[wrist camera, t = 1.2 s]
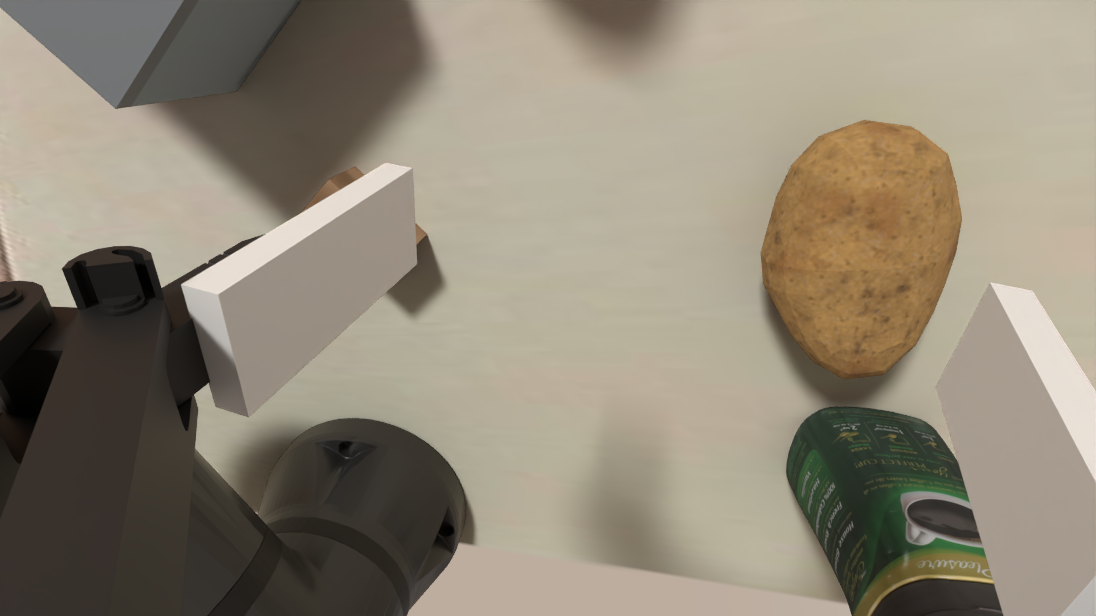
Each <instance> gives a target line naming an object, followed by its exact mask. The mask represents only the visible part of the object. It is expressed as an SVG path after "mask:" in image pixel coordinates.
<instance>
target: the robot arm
mask: <svg viewBox="0 0 1096 616" xmlns="http://www.w3.org/2000/svg"><path fill="white" fill-rule="evenodd" d="M416 265H417V248H416V227H415V206H414V185H413V168H410V167H404V166H399V165H394V164H389V163H384V164H383V165H381V166H379V167H378V168H376V169H374V170H373V171H371V172H369V173H368V174H366V175H364V176H363V177H361V178H359V179H358V180H356V181H354V182H353V183H351V184H349V185H347V186H346V187H344V188H342V189H341V190H339V191H337V192H336V193H334V194H332V195H331V196H329V197H327V198H326V199H324V200H322V201H321V202H319V203H317V204H315V205H314V206H312V207H310V208H309V209H307V210H305V211H304V212H302V213H300V214H299V215H297V216H295V217H294V218H292V219H290V220H289V221H287V222H285V223H284V224H282V225H280V226H278V227H277V228H275V229H273V230H272V231H270V232H268V233H267V234H264V235H261V236H257V237H254V238H251V239H248V240H245V241H242V242H240V243H238V244H237V245H235V246H233V247H232V248H230V249H228V250H226V251H225V252H224V254H223V255H221V254H220V255H218V256H216V257H214V258H213V259H211V260H209V263H208V264H206V263H204V264H202V265H201V266H199V267H197V268H196V269H194V270H192V271H190V272H189V273H187V274H185V275H184V276H182V277H180V278H178V279H177V280H175V281H173V282H171V283H170V284H168V285H166V286H165V287H163V288H161V285H160V282H159V278H158V275H157V272H156V269H155V265H154V262H153V259H152V255H151V253H150V252H148V251H147V250H145V249H143V248H138V247H133V246H113V247H108V248H102V249H96V250H93V251H90V252H87V253H84V254H81V255H79V256H77V257H76V258H74V259H72V260H70V261H68V263H67V264H66V265H65V266H64V267H63V268H62V270H63V273H64V275H65V278H66V280H67V283H68V285H69V288H70V290H71V293H72V295H73V298H74V300H75V303H76V306H77V308H71V307H51V305H50V303H49V301H48V298H47V296H46V294H45V291H44V289H43V287H42V286H41V285H39V284H37V283H34V282H27V281H12V282H7V281H3V282H0V616H407V614H408V611H409V610H410V609H411V607H412V606H413V605H414V604H415V603H416V602H417V600H418V599H419V598H420V597H421V596H422V595H423V593H424V592H425V591H426V590H427V589H428V588H429V586H430V585H431V584H432V583H433V582H434V581H435V579H436V578H437V577H438V576H439V575H440V574H441V573H442V571H443V570H444V569H445V568H446V567H447V565H448V564H449V562H450V561H451V559H452V557H453V555H454V553H455V551H456V549H457V546H458V543H459V540H460V537H461V534H462V531H463V528H464V524H465V517H466V507H465V499H464V495H463V491H462V488H461V486H460V483H459V481H458V479H457V477H456V475H455V474H454V472H453V471H452V469H451V468H450V466H449V465H448V464H447V462H446V461H445V460H444V459H443V458H442V457H441V456H440V455H439V454H438V453H437V452H436V451H435V450H434V449H433V448H432V447H431V446H429V445H428V444H427V443H425V442H424V441H423V440H421V439H420V438H418V437H416V436H415V435H413V434H411V433H409V432H407V431H405V430H403V429H401V428H399V427H396V426H393V425H390V424H387V423H384V422H380V421H375V420H369V419H359V418H346V419H337V420H332V421H328V422H324V423H321V424H319V425H316V426H314V427H312V428H310V429H308V430H307V431H305V432H304V433H302V434H301V435H300V436H298V437H297V438H296V439H295V440H294V441H293V442H292V443H291V445H290V446H289V447H288V448H287V450H286V451H285V452H284V453H283V455H282V456H281V457H280V458H279V460H278V461H277V462H276V464H275V465H274V467H273V469H272V471H271V473H270V475H269V478H268V480H267V483H266V487H265V490H264V494H263V497H262V501H261V505H260V508H259V512H258V515H257V514H256V513H255V512H254V511H253V510H252V509H251V508H250V507H249V506H248V504H247V503H246V502H245V501H244V500H243V499H242V498H241V497H240V496H239V495H238V494H237V493H236V492H235V491H234V490H233V489H232V487H231V486H230V485H229V484H228V483H227V482H226V481H225V480H224V479H223V478H222V477H221V476H220V475H219V474H218V473H217V472H216V470H215V469H214V468H213V467H212V466H211V465H210V464H209V463H208V462H207V461H206V460H205V459H204V458H203V457H202V456H201V455H200V453H199V452H198V451H197V450H196V449H195V441H196V428H197V416H198V407H197V403H196V400H195V397H194V394H195V393H196V392H198V391H199V390H200V389H201V388H203V387H204V386H205V385H206V384H208V383H209V385H210V389H211V392H212V396H213V399H214V403H215V406H216V407H218V408H221V409H224V410H227V411H231V412H234V413H237V414H240V415H243V416H246V417H250V416H251V415H252V414H253V413H254V412H255V411H256V410H257V409H258V408H260V407H261V406H262V405H263V404H264V403H265V402H266V401H267V400H268V399H269V398H271V397H272V396H273V395H274V394H275V393H276V392H277V391H278V390H279V389H280V388H282V387H283V386H284V385H285V384H286V383H287V382H288V381H289V380H290V379H291V378H293V377H294V376H295V375H296V374H297V373H298V372H299V371H300V370H301V369H302V368H304V367H305V366H306V365H307V364H308V363H309V362H310V361H311V360H312V359H313V358H315V357H316V356H317V355H318V354H319V353H320V352H321V351H322V350H323V349H324V348H326V347H327V346H328V345H329V344H330V343H331V342H332V341H333V340H334V339H335V338H337V337H338V336H339V335H340V334H341V333H342V332H343V331H344V330H345V329H346V328H348V327H349V326H350V325H351V324H352V323H353V322H354V321H355V320H356V319H357V318H358V317H360V316H361V315H362V314H363V313H364V312H365V311H366V310H367V309H368V308H369V307H371V306H372V305H373V304H374V303H375V302H376V301H377V300H378V299H379V298H380V297H382V296H383V295H384V294H385V293H386V292H387V291H388V290H389V289H390V288H391V287H393V286H394V285H395V284H396V283H397V282H398V281H399V280H400V279H401V278H402V277H404V276H405V275H406V274H407V273H408V272H409V271H410V270H411V269H412V268H413V267H415V266H416ZM936 389H937V392H938V396H939V399H940V402H941V406H942V409H943V413H944V416H945V419H946V423H947V426H948V430H949V433H950V436H951V440H952V443H953V446H954V450H955V453H956V457H957V460H958V463H959V467H960V470H961V474H962V477H963V480H964V484H965V487H966V490H967V494H968V497H969V501H970V504H971V507H972V511H973V514H974V518H975V521H976V524H977V528H978V531H979V534H980V538H981V541H982V545H983V548H984V551H985V555H986V558H987V562H988V565H989V568H990V572H991V575H992V578H993V582H994V585H995V589H996V592H997V595H998V599H999V602H1000V605H1001V609H1002V612H1003V616H1096V391H1095V390H1094V388H1093V386H1092V385H1091V383H1090V382H1089V380H1088V378H1087V377H1086V375H1085V374H1084V372H1083V370H1082V369H1081V367H1080V366H1079V364H1078V363H1077V361H1076V359H1075V358H1074V356H1073V355H1072V353H1071V351H1070V350H1069V348H1068V347H1067V345H1066V344H1065V342H1064V340H1063V339H1062V337H1061V336H1060V334H1059V332H1058V331H1057V329H1056V328H1055V326H1054V324H1053V323H1052V321H1051V320H1050V318H1049V317H1048V315H1047V313H1046V312H1045V310H1044V309H1043V307H1042V305H1041V304H1040V302H1039V301H1038V299H1037V297H1036V296H1035V294H1034V293H1033V291H1031V290H1026V289H1021V288H1016V287H1011V286H1006V285H1001V284H996V283H991V282H990V284H989V285H988V287H987V289H986V291H985V293H984V295H983V297H982V299H981V301H980V303H979V305H978V307H977V308H976V310H975V312H974V314H973V316H972V318H971V320H970V322H969V324H968V326H967V328H966V330H965V332H964V333H963V335H962V337H961V339H960V341H959V343H958V345H957V347H956V349H955V351H954V353H953V355H952V357H951V358H950V360H949V362H948V364H947V366H946V368H945V370H944V372H943V374H942V376H941V378H940V380H939V382H938V383H937V385H936Z"/></svg>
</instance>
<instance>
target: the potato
mask: <svg viewBox="0 0 1096 616" xmlns="http://www.w3.org/2000/svg"><path fill="white" fill-rule="evenodd" d="M961 222H962V216H961V209H960V204H959V198H958V191H957V185H956V181H955V178H954V175H953V171H952V167H951V164H950V160H949V156H948V154H947V153H946V152H945V151H943V150H942V149H941V148H940V147H938V146H937V145H936V144H934V143H933V142H932V141H931V140H929V139H928V138H927V137H926V136H924V135H923V134H922V133H921V132H919V131H918V130H916V129H914V128H912V127H911V126H904V125H896V124H889V123H882V122H874V121H867V120H863V121H860V122H857V123H854V124H852V125H849V126H846V127H843V128H841V129H838V130H835V131H832V132H830V133H827V134H824V135H821V136H819V137H818V138H817V139H816V140H815V141H814V142H813V143H812V144H811V145H810V146H809V147H808V148H807V149H806V150H805V152H804V153H803V154H802V155H801V156H800V157H799V158H798V159H797V160H796V161H795V162H794V163H793V164H792V165H791V167H790V170H789V172H788V174H787V176H786V178H785V180H784V182H783V184H782V186H781V188H780V190H779V192H778V194H777V197H776V200H775V203H774V207H773V210H772V214H771V218H770V221H769V225H768V228H767V232H766V235H765V239H764V243H763V247H762V250H761V262H762V274H763V284H764V285H765V287H766V289H767V291H768V293H769V295H770V297H771V299H772V300H773V302H774V304H775V306H776V308H777V310H778V312H779V313H780V315H781V317H782V319H783V321H784V323H785V324H786V326H787V328H788V330H789V332H790V334H791V335H792V336H793V338H794V339H795V340H796V341H797V343H798V344H799V345H800V346H801V348H802V349H803V350H804V351H805V353H806V354H807V355H808V356H809V358H810V359H811V360H812V361H814V362H815V363H817V364H818V365H820V366H822V367H823V368H825V369H827V370H829V371H830V372H832V373H834V374H836V375H837V376H839V377H841V378H843V379H850V378H859V377H868V376H877V375H883V374H884V373H886V372H887V371H888V370H889V369H890V368H891V367H892V366H893V365H894V364H895V363H897V362H898V361H899V360H900V359H901V358H902V357H903V356H904V355H905V354H906V353H907V352H909V351H910V350H911V349H912V348H913V347H914V346H915V345H916V344H917V342H918V340H919V338H920V336H921V334H922V333H923V331H924V329H925V327H926V325H927V323H928V322H929V320H930V318H931V316H932V314H933V312H934V310H935V307H936V305H937V302H938V300H939V298H940V295H941V293H942V291H943V288H944V286H945V283H946V280H947V277H948V274H949V271H950V268H951V266H952V263H953V260H954V257H955V254H956V250H957V244H958V239H959V233H960V227H961Z"/></svg>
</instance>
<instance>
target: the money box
mask: <svg viewBox="0 0 1096 616" xmlns="http://www.w3.org/2000/svg"><path fill="white" fill-rule="evenodd" d="M300 1H301V0H0V8H2V9H3V10H4V11H5V12H6V13H7V14H8V15H9V16H11V17H12V18H13V19H14V20H15V21H16V22H17V23H19V24H20V25H21V26H22V27H23V28H24V29H25V30H27V31H28V32H29V33H30V34H31V35H32V36H33V37H35V38H36V39H37V40H38V41H39V42H40V43H41V44H43V45H44V46H45V47H46V48H47V49H48V50H49V51H50V52H52V53H53V54H54V55H55V56H56V57H57V58H58V59H60V60H61V61H62V62H63V63H64V64H65V65H66V66H68V67H69V68H70V69H71V70H72V71H73V72H74V73H76V74H77V75H78V76H79V77H80V78H81V79H82V80H84V81H85V82H86V83H87V84H88V85H89V86H90V87H91V88H93V89H94V90H95V91H96V92H97V93H98V94H99V95H101V96H102V97H103V98H104V99H105V100H106V101H107V102H109V103H110V104H111V105H112V106H113V107H114V108H115V109H118V108H125V107H132V106H139V105H145V104H152V103H159V102H166V101H173V100H180V99H187V98H194V97H201V96H208V95H215V94H222V93H229V92H236V91H237V90H238V89H239V87H240V86H241V84H242V83H243V82H244V80H245V79H246V77H247V76H248V75H249V73H250V72H251V70H252V69H253V68H254V66H255V65H256V63H257V62H258V61H259V59H260V58H261V56H262V55H263V54H264V52H265V51H266V49H267V48H268V46H269V45H270V44H271V42H272V41H273V39H274V38H275V37H276V35H277V34H278V32H279V31H280V30H281V28H282V27H283V25H284V24H285V23H286V21H287V20H288V18H289V17H290V16H291V14H292V13H293V11H294V10H295V8H296V7H297V6H298V4H299V3H300Z"/></svg>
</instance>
